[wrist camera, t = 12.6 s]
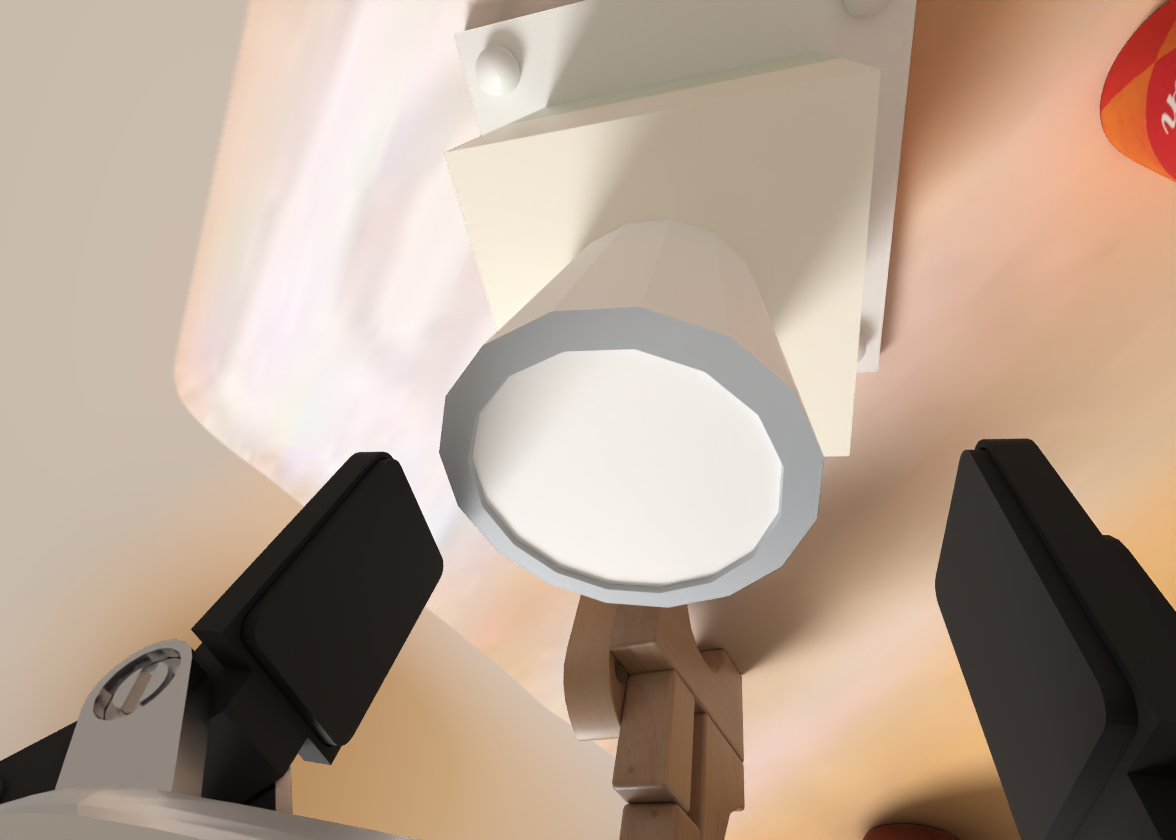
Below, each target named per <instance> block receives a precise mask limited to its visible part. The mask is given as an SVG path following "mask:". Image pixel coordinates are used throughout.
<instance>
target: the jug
mask: <svg viewBox="0 0 1176 840" xmlns="http://www.w3.org/2000/svg"><path fill="white" fill-rule="evenodd" d="M863 840H958V839H957V838H955V837H954V836H952V835H950V834H948V833H946V832H944V831H941V830H938V829H935V828H931V827H927V826H922V825H914V824H890V825H884V826H880V827H877V828H874V829H872V830H871V831H869V832H868V833H867V834H866V836H865V837H864V839H863Z"/></svg>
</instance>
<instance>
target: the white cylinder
mask: <svg viewBox="0 0 1176 840" xmlns="http://www.w3.org/2000/svg"><path fill="white" fill-rule="evenodd" d="M439 454H440V456H441V459H442V462H443V465H444V468H445V470H446V473H447V476H448V479H449V482H450V484H451V487H452V490H453V493H454V496H455V498H456V501H457V504H458V506H459V507H460V509H461V510H462V511H463V512H464V513H465V514H466V516H467V517H468V518H469V519H470V520H471V521H472V523H473V524H474V525H475V526H476V527H477V528H478V530H479V531H480V532H481V533H482V534H483V536H484V537H485V538H486V539H487V540H488V541H489V543H490V544H491V545H492V546H493V547H494V548H495V550H497V551H498V552H500V553H501V554H503V555H504V556H506V557H507V558H509V559H510V560H512V561H514V562H515V563H517V564H518V565H520V566H521V567H523V568H524V569H526V570H527V571H529V572H530V573H532V574H534V575H535V576H537V577H538V578H540V579H541V580H543V581H544V582H546V583H548V584H551V585H554V586H557V587H560V588H563V589H566V590H569V591H572V592H575V593H578V594H581V595H584V596H587V597H590V598H593V599H596V600H599V601H602V602H605V603H615V604H628V605H641V606H654V607H667V608H669V607H674V606H679V605H684V604H690V603H695V602H700V601H705V600H710V599H716V598H721V597H726V596H730V595H732V594H733V593H735V592H737V591H739V590H741V589H742V588H744V587H746V586H748V585H749V584H751V583H753V582H755V581H757V580H758V579H760V578H762V577H764V576H765V575H767V574H769V573H771V572H772V571H774V570H776V569H778V568H780V567H781V566H782V565H783V564H784V563H785V561H786V560H787V559H788V557H789V556H790V554H791V553H792V552H793V550H794V549H795V548H796V546H797V545H798V544H799V542H800V541H801V540H802V538H803V537H804V536H805V534H806V533H807V532H808V530H809V529H810V527H811V526H812V525H813V523H814V522H815V521H816V519H817V514H818V506H819V497H820V488H821V480H822V471H823V463H824V455H823V453H822V450H821V448H820V445H819V443H818V440H817V438H816V435H815V433H814V430H813V428H812V425H811V423H810V420H809V417H808V415H807V412H806V410H805V407H804V405H803V402H802V400H801V397H800V395H799V392H798V390H797V387H796V384H795V382H794V379H793V377H792V374H791V372H790V369H789V367H788V364H787V362H786V359H785V357H784V354H783V351H782V349H781V346H780V344H779V341H778V339H777V336H776V334H775V331H774V329H773V326H772V324H771V321H770V318H769V316H768V313H767V311H766V308H765V306H764V303H763V301H762V298H761V296H760V294H759V291H758V289H757V287H756V284H755V282H754V280H753V278H752V275H751V273H750V271H749V268H748V266H747V264H746V261H745V260H744V259H742V258H741V257H740V256H739V255H738V254H737V253H736V252H735V251H733V250H732V249H731V248H730V247H729V246H728V245H727V244H726V243H724V242H723V241H722V240H721V239H720V238H719V237H718V236H717V235H715V234H714V233H713V232H710V231H707V230H704V229H701V228H698V227H695V226H691V225H688V224H685V223H682V222H679V221H676V220H673V219H665V220H654V221H643V222H632V223H626V224H625V225H623V226H621V227H619V228H617V229H615V230H613V231H612V232H610V233H608V234H606V235H604V236H602V237H600V238H599V239H597V240H595V241H593V242H591V243H590V244H589V245H588V246H587V247H586V248H585V249H584V250H583V251H582V252H581V253H580V254H578V255H577V256H576V257H575V258H574V259H573V260H572V261H571V262H570V263H569V264H568V265H567V266H566V267H565V268H564V269H563V270H562V271H561V272H560V273H559V274H557V275H556V276H555V277H554V278H553V279H552V280H551V281H550V282H549V283H548V284H547V285H546V286H545V287H544V288H543V289H542V290H541V291H540V292H539V293H537V294H536V295H535V296H534V297H533V298H532V299H531V300H530V301H529V302H528V303H527V304H526V305H525V306H524V307H523V308H522V309H521V310H520V311H519V312H517V313H516V314H515V315H514V316H513V317H512V318H511V319H510V320H509V321H508V322H507V323H506V324H505V325H504V326H503V327H502V328H501V329H500V330H499V331H498V332H496V333H495V334H494V335H493V336H492V337H491V338H490V339H489V340H488V341H487V342H486V343H485V344H484V345H483V346H482V347H481V349H480V350H479V352H478V353H477V354H476V356H475V357H474V358H473V360H472V361H471V362H470V364H469V365H468V367H467V368H466V369H465V371H464V372H463V373H462V375H461V376H460V377H459V379H458V380H457V382H456V383H455V384H454V386H453V387H452V388H451V390H450V391H449V392H448V394H447V395H446V398H445V407H444V415H443V424H442V432H441V441H440V450H439Z"/></svg>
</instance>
